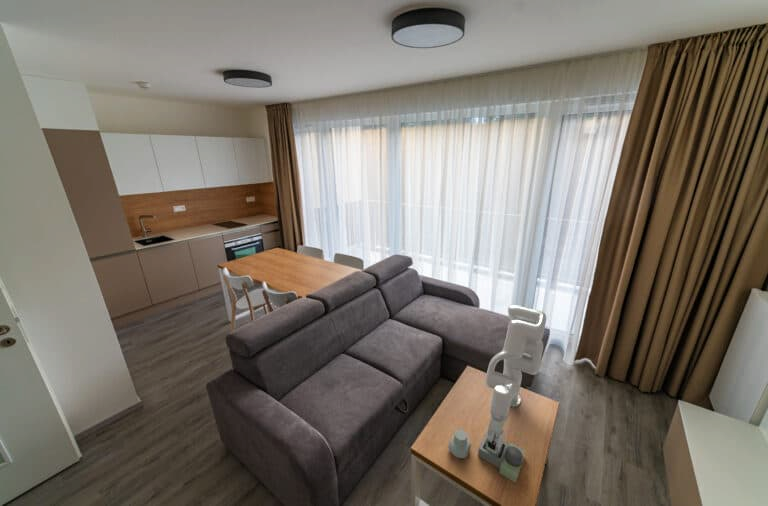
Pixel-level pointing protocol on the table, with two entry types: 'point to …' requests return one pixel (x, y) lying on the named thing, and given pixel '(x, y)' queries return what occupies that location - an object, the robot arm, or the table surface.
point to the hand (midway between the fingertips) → (495, 439)
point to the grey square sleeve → (504, 459)
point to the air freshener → (459, 444)
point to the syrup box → (498, 444)
